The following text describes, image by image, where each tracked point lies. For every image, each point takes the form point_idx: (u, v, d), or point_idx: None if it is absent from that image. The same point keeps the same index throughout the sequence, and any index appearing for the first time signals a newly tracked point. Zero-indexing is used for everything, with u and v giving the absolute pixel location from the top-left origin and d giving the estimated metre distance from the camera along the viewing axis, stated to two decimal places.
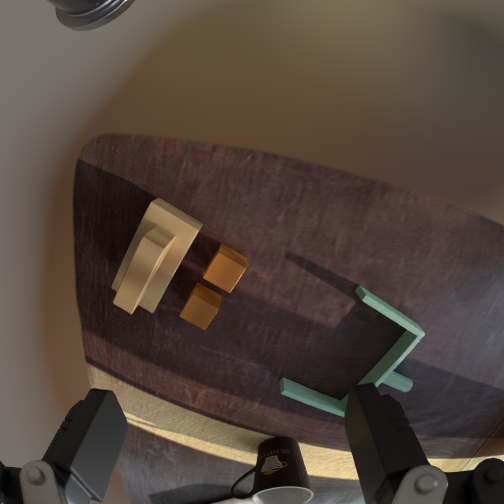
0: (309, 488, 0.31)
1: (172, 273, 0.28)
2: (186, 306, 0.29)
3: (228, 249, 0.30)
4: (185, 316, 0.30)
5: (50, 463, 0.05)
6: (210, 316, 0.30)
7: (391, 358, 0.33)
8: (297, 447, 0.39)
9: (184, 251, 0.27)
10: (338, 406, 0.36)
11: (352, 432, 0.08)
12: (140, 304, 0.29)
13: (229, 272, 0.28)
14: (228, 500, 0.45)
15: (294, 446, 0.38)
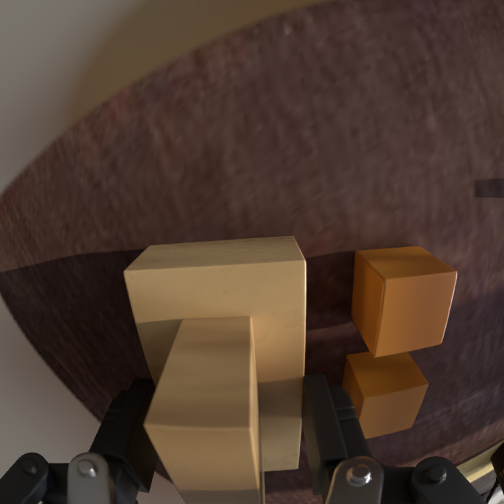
0: None
1: (299, 397, 0.09)
2: (361, 422, 0.11)
3: (381, 254, 0.11)
4: (366, 435, 0.11)
5: None
6: (416, 404, 0.10)
7: None
8: None
9: (300, 338, 0.09)
10: None
11: (304, 421, 0.09)
12: (264, 469, 0.11)
13: (428, 306, 0.09)
14: None
15: None
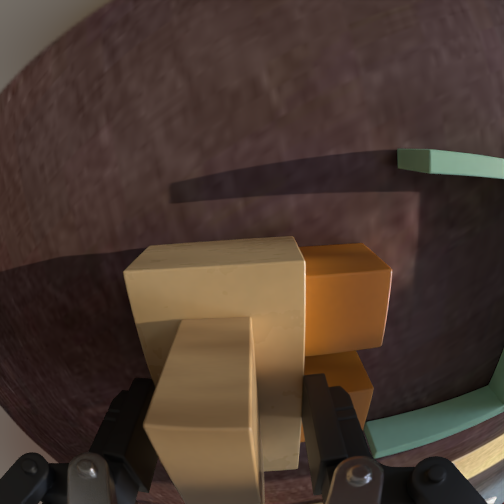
0: None
1: (299, 397, 0.09)
2: (301, 423, 0.11)
3: (316, 251, 0.11)
4: None
5: None
6: (362, 408, 0.11)
7: None
8: None
9: (300, 338, 0.09)
10: (490, 401, 0.13)
11: (304, 421, 0.09)
12: (264, 469, 0.11)
13: (358, 305, 0.09)
14: None
15: None
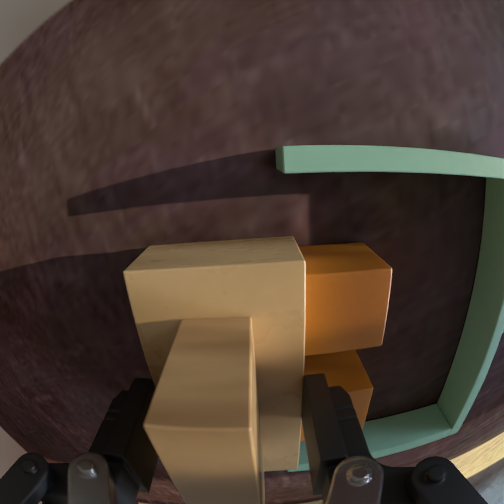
0: None
1: (299, 397, 0.09)
2: None
3: (316, 250, 0.11)
4: None
5: None
6: (362, 408, 0.11)
7: (495, 273, 0.11)
8: None
9: (300, 338, 0.09)
10: (435, 422, 0.13)
11: (304, 421, 0.09)
12: (264, 469, 0.11)
13: (358, 304, 0.09)
14: None
15: None
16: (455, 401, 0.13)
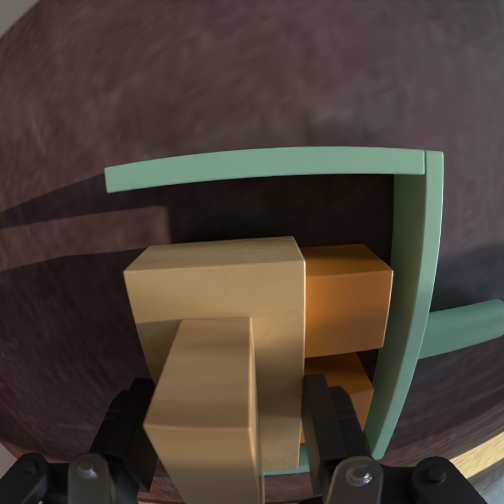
0: None
1: (299, 397, 0.09)
2: (301, 424, 0.11)
3: (316, 251, 0.11)
4: None
5: None
6: (362, 410, 0.11)
7: (403, 289, 0.11)
8: None
9: (300, 338, 0.09)
10: None
11: (304, 421, 0.09)
12: (264, 469, 0.11)
13: (359, 306, 0.09)
14: None
15: None
16: (373, 426, 0.13)
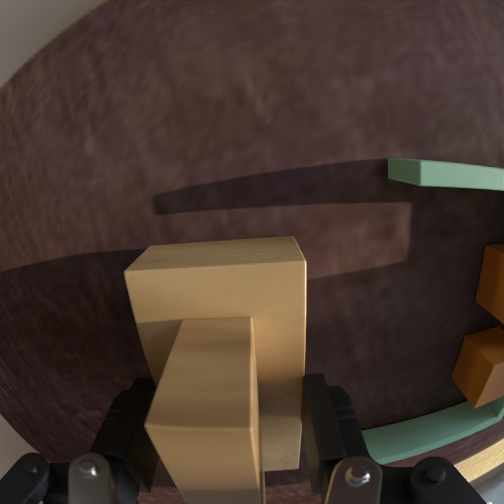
0: None
1: (299, 397, 0.09)
2: (485, 389, 0.10)
3: None
4: (483, 401, 0.11)
5: None
6: None
7: None
8: None
9: (300, 338, 0.09)
10: (483, 412, 0.13)
11: (303, 421, 0.09)
12: (265, 469, 0.11)
13: None
14: None
15: None
16: None
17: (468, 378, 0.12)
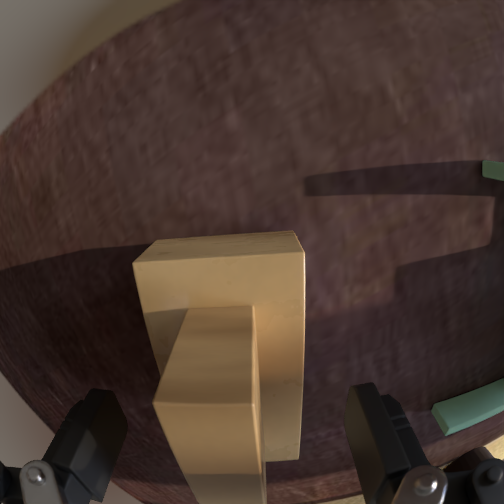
0: None
1: (299, 386, 0.10)
2: None
3: None
4: None
5: (50, 463, 0.05)
6: None
7: None
8: (487, 455, 0.17)
9: (300, 327, 0.09)
10: None
11: (352, 432, 0.08)
12: (266, 459, 0.11)
13: None
14: None
15: (483, 458, 0.16)
16: None
17: None
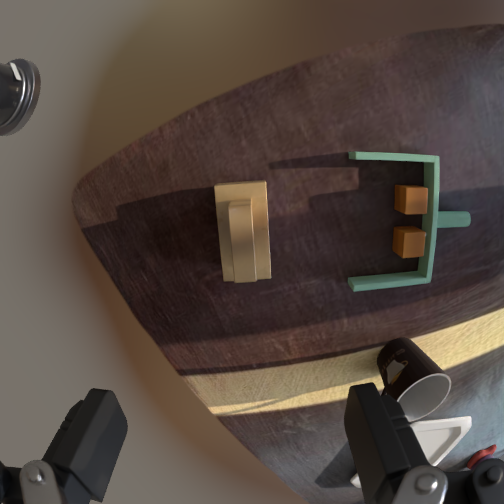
0: (441, 372, 0.29)
1: (267, 231, 0.30)
2: (404, 246, 0.31)
3: (403, 185, 0.32)
4: (406, 255, 0.32)
5: (50, 463, 0.05)
6: (422, 241, 0.31)
7: (429, 198, 0.31)
8: (411, 342, 0.37)
9: (265, 206, 0.30)
10: (417, 275, 0.34)
11: (352, 432, 0.08)
12: (256, 277, 0.32)
13: (419, 198, 0.30)
14: None
15: (407, 343, 0.37)
16: (424, 262, 0.33)
17: (397, 245, 0.33)
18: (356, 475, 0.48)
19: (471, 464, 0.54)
